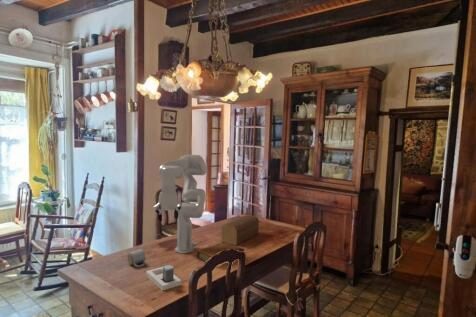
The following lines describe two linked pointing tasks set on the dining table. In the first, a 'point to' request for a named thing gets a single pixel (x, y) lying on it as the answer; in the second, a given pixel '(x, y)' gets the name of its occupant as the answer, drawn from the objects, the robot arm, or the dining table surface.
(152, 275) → the jack panel
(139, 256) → the ceramic mug
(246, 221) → the bread
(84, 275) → the dining table surface
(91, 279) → the dining table surface
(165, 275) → the plug
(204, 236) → the dining table surface
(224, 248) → the diary
